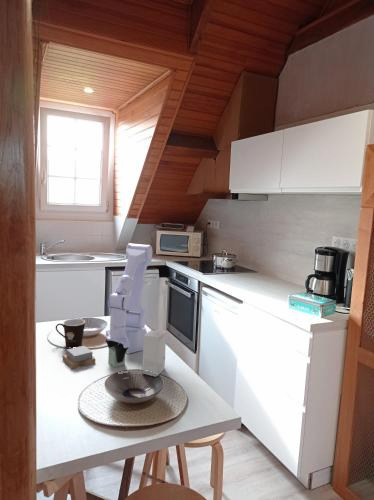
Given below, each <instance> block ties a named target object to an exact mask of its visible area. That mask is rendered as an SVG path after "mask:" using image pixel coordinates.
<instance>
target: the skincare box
mask: <svg viewBox="0 0 374 500" xmlns="http://www.w3.org/2000/svg"><path fill="white" fill-rule="evenodd" d="M166 338H167V331H166V330H161V329H160V330H159V329H154V328H152V329H151V330H149V331H147V334H145V335H144V340H143V350H142V370H148V371H152V372H155V373H158V374H159V375H160V374H161V373H162V372H163V371H164V370H166V369H165V367H166V364H165V363H166V347H167V346H166V344H167V343H166V342H167V341H166V340H167V339H166ZM142 370H141V371H142Z"/></svg>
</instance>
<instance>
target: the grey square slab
mask: <svg viewBox="0 0 374 500" xmlns="http://www.w3.org/2000/svg"><path fill="white" fill-rule="evenodd" d="M66 354H67V357H69V358H70V359H71V360H72V361H73V362H74V363H75V362H79V361H83V360H87V359H91V358H92V356H93V351H92V350H91V349H89V348H88V347H87V346H86V345H82V346H80V347H76V348H68V349H66Z"/></svg>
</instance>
